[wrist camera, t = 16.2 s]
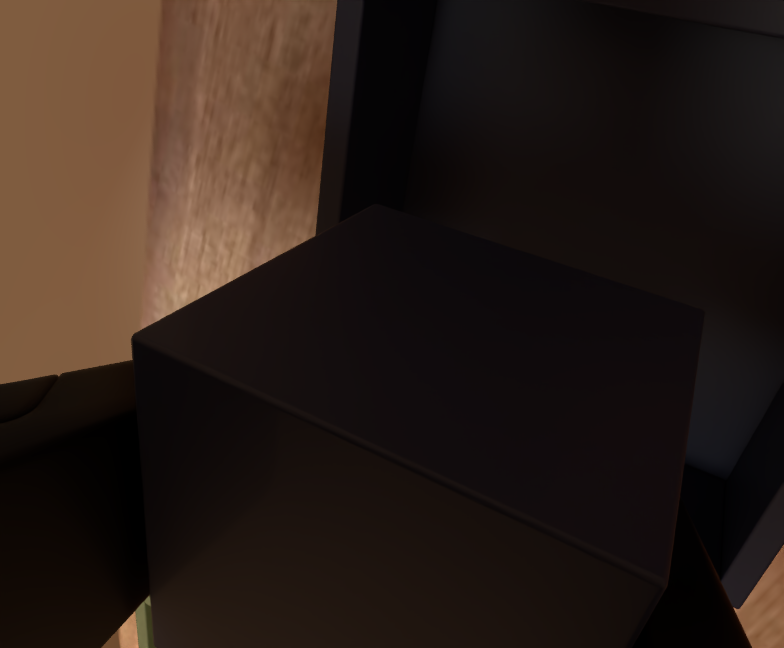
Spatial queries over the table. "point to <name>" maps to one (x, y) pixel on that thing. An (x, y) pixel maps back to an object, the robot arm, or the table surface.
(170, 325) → the navy block
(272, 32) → the table surface
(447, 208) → the navy bin
